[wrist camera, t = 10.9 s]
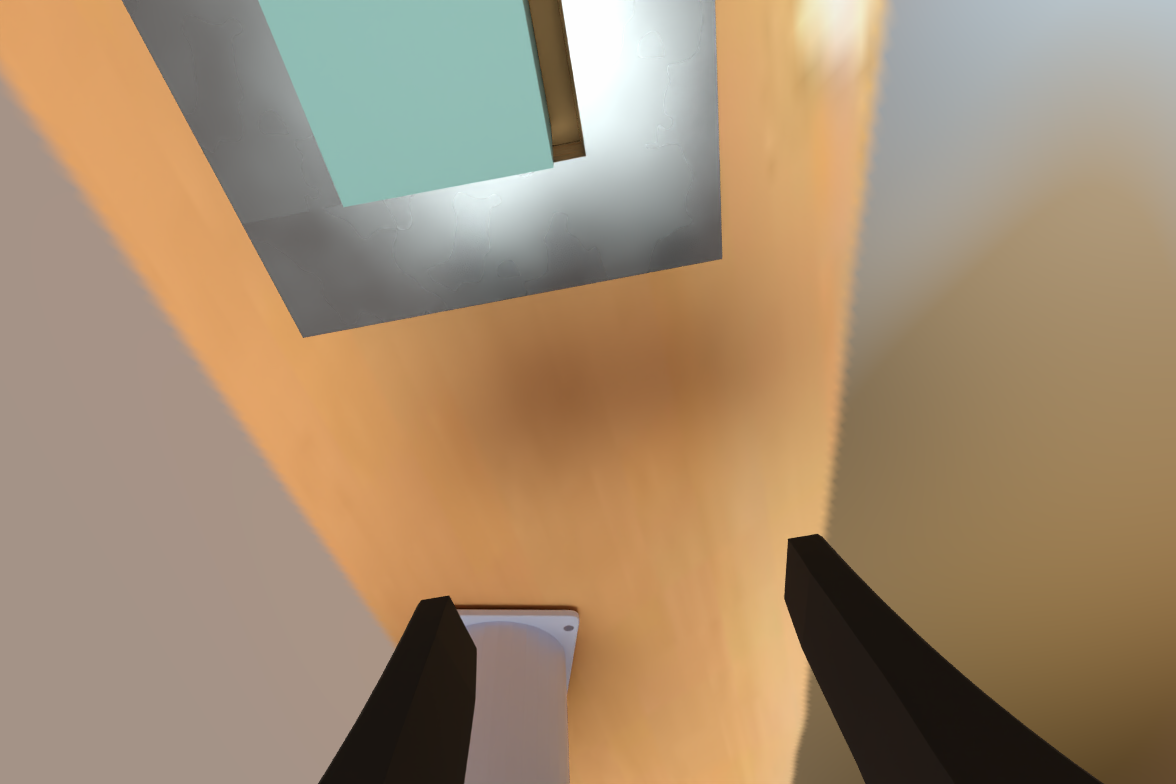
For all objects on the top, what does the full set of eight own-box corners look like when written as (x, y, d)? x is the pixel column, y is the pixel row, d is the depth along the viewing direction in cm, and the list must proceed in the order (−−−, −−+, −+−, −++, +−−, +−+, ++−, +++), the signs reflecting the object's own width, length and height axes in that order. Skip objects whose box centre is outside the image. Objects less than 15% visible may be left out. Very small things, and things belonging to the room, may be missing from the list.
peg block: (550, 126, 15) (553, 168, 10) (411, 152, 15) (343, 207, 10) (517, -59, 12) (498, -129, 7) (354, -26, 13) (228, -73, 8)
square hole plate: (699, 232, 17) (722, 258, 14) (332, 301, 17) (303, 337, 15) (668, -395, 10) (700, -512, 8) (66, -252, 10) (-54, -327, 8)
